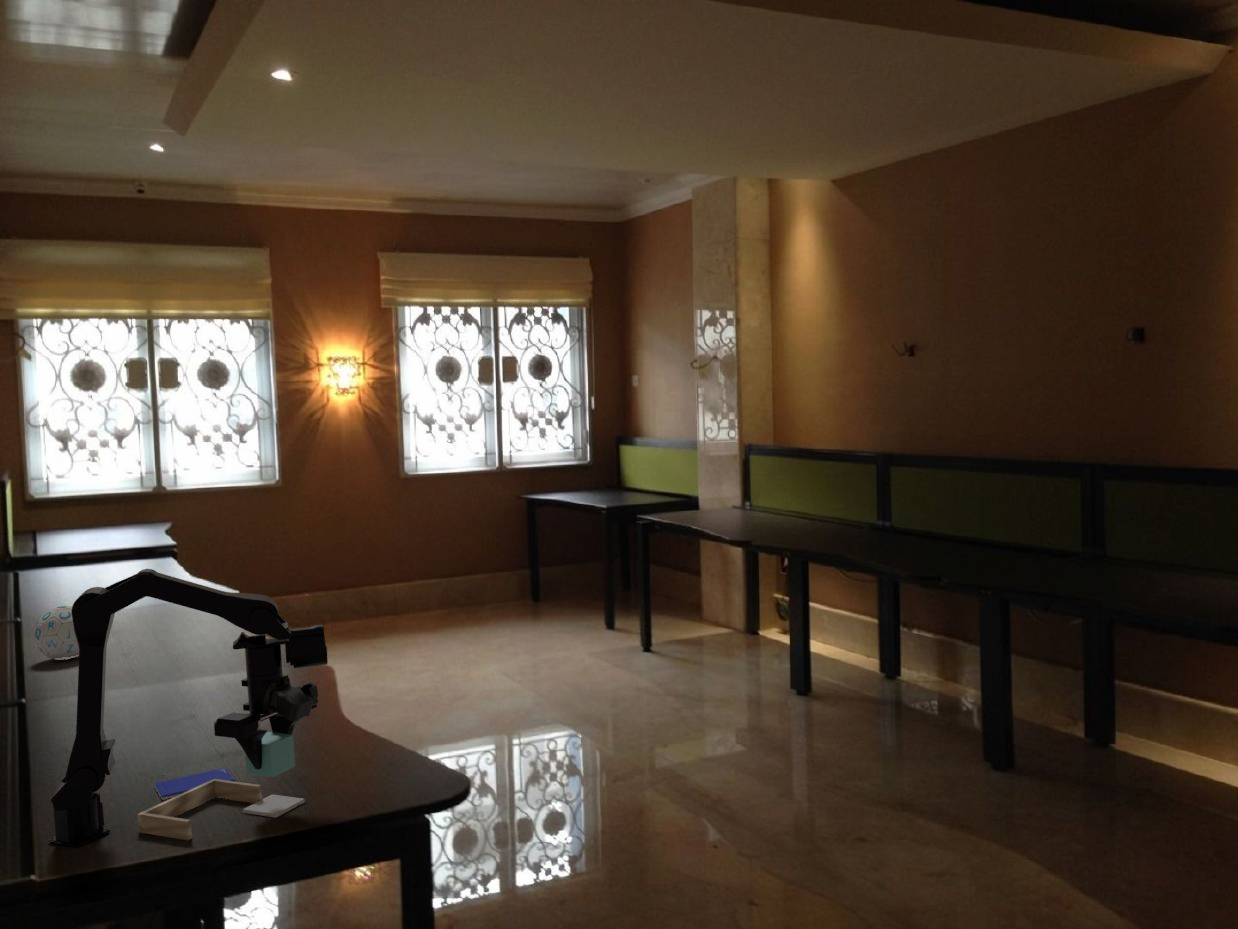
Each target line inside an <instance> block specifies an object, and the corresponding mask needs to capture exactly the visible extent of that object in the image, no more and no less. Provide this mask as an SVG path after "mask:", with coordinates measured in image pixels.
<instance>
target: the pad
mask: <svg viewBox="0 0 1238 929" xmlns="http://www.w3.org/2000/svg"><path fill="white" fill-rule="evenodd" d="M305 802H306V801H305V798H301V797H294V796H293V797H292V796H288V795H287V796H286V795H278V794H270V795H269V796H267V797H264V798H262V800H260V801H258V802H256V803H251V805H249V806H246V807H244V808H243V809H242V812H243V813H244V814H248V815H249V814H250V815H257V816H264V817H269V818H275V819H276V818H278V817H281V816H282V815H283V814H286V813H287V812H290V811H291V810H292V809H294V808H297V807H298V805H299V806H300V805H302V804H304V803H305Z"/></svg>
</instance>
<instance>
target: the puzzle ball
mask: <svg viewBox="0 0 1238 929" xmlns="http://www.w3.org/2000/svg"><path fill="white" fill-rule="evenodd" d="M72 606H73V605H72ZM72 606H71V605H68V606H67V605H64V606H57V607H53V608H51V609H50V610H48V611H46V612H45V613H44V614H42V616H41V617H40V618H39V619H38V620H37V622H36V626H35V628H34V631H33V639H34V644H35V645H36V647H37V649H38V651H39V652H40V653H41V654H43V655H44V656H45V657H47V659H50V658H62V657H71V656H76V655H79V646H78V642H77V639H76V635H75V632H74V625H73V619H72Z"/></svg>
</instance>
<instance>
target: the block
mask: <svg viewBox="0 0 1238 929" xmlns="http://www.w3.org/2000/svg"><path fill="white" fill-rule="evenodd" d="M294 741H295V740H294V734H292V735H291V734H282V733H273V732H271V731H267V732H266V734H265V735H264V736H263V738H262V767H261V769H255V768H254V766H253V765H252V763H251V761H250V760H249V758H248V756H247V755H246V753H245V752H244V754H245V765H246V766H245V767H246V768H245V769H246V775H251V776H259V777H267V778H274V777H276V776H278V775H281V774H282V773H283V774H284V773H285V772H287V771H289V770H291V769H293V768H295V767H296V760H295V759H296V758H295V744H294Z"/></svg>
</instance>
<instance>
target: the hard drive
mask: <svg viewBox="0 0 1238 929" xmlns="http://www.w3.org/2000/svg"><path fill="white" fill-rule="evenodd" d="M213 779H219V780H227V781H234V782H236V779H235V777H234V775H232V774H231V772H230V771H229V770H228V769H227V767H222V768H218V769H217V768H216V769H213V770H212V769H211V770H208V771H205V772H199V773H198V772H197V773H195V774H190V775H186V776H180V777H176V778H171V779H166V780H162V781H159V782H154V783H153V785H154V789H155V791H156V793H157V792H158V793H157V794H158V796H159V798H160V797H161V798H160V800H161V799H162V800H163V801H167V800H169V799H168V798H173V797H176V796H178V795H180V794H182V793H184V792H187V791H189V790H191V789H193V788H195V787H197V786H200V785H202V784H204V783H206V782H208V781H211V780H213ZM166 799H167V800H166ZM162 800H161V801H162Z"/></svg>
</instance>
